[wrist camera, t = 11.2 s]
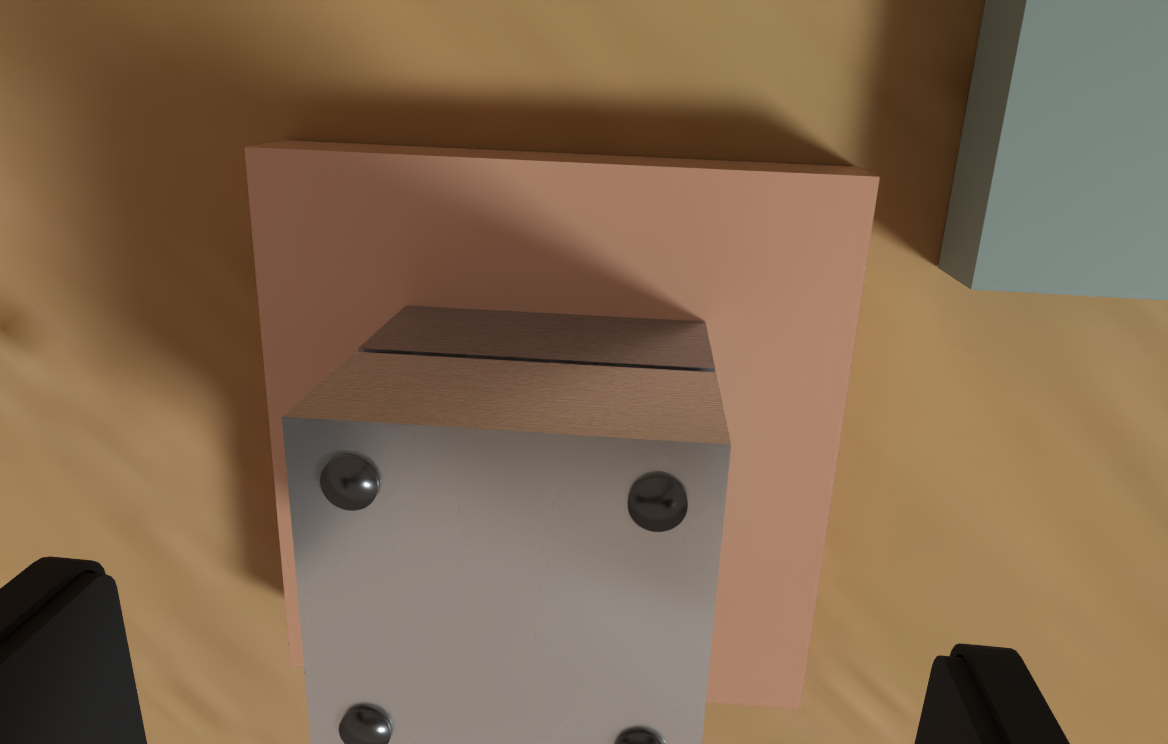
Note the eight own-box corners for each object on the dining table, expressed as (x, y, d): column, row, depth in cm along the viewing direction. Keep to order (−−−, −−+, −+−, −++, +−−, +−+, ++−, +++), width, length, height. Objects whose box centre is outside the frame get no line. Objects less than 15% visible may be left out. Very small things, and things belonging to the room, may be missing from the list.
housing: (405, 304, 17) (278, 419, 11) (705, 321, 17) (731, 448, 11) (415, 564, 19) (311, 774, 13) (683, 584, 19) (695, 809, 13)
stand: (286, 140, 18) (244, 147, 16) (855, 166, 17) (879, 177, 16) (321, 616, 22) (290, 665, 20) (787, 654, 21) (800, 709, 19)
